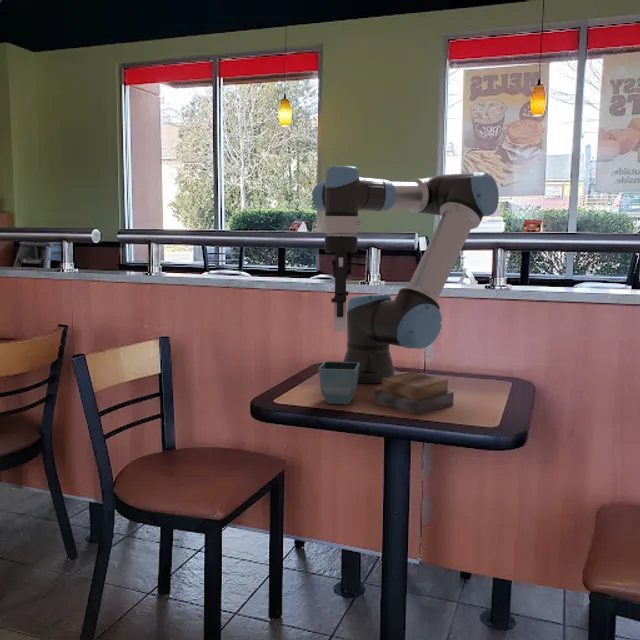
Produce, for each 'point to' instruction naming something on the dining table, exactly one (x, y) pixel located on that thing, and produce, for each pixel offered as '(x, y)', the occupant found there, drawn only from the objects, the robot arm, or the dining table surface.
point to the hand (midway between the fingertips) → (339, 327)
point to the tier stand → (414, 393)
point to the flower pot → (338, 381)
